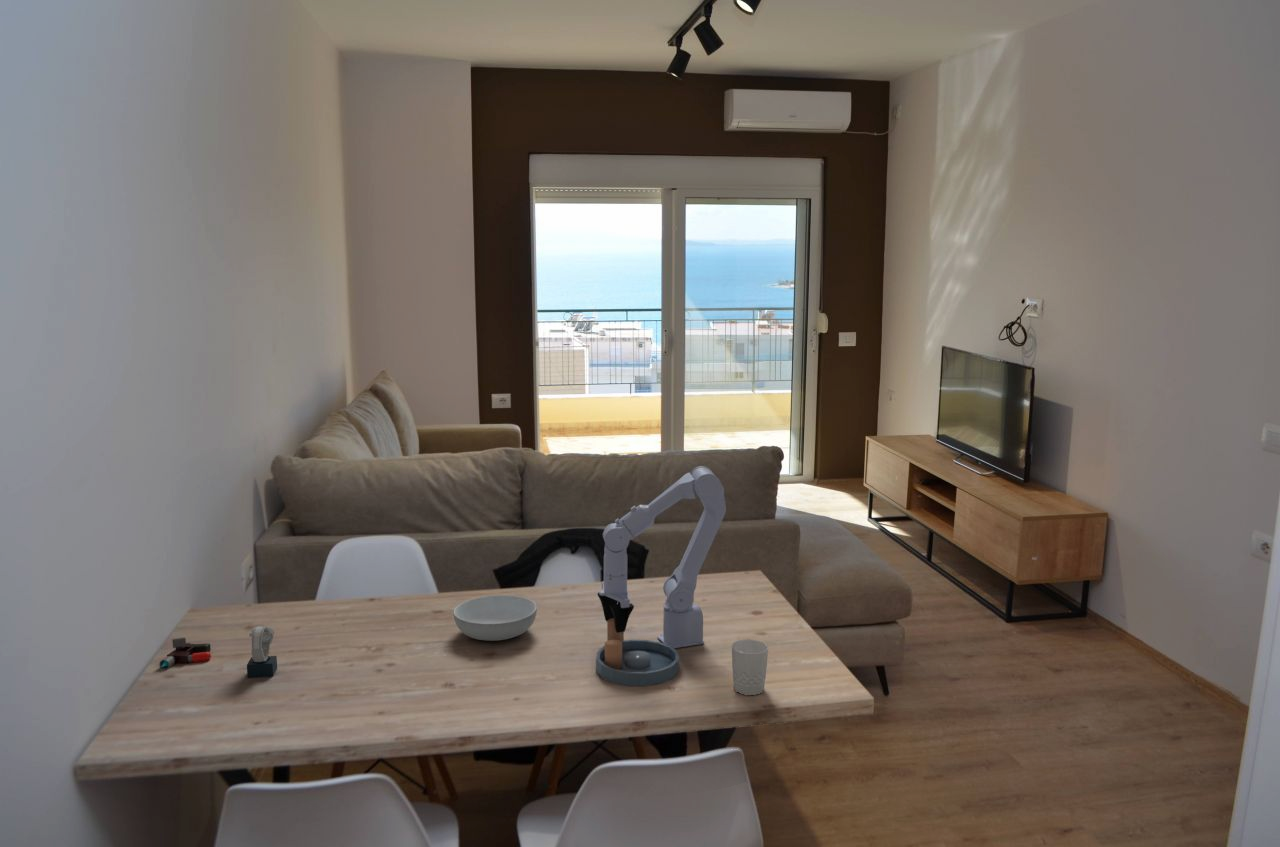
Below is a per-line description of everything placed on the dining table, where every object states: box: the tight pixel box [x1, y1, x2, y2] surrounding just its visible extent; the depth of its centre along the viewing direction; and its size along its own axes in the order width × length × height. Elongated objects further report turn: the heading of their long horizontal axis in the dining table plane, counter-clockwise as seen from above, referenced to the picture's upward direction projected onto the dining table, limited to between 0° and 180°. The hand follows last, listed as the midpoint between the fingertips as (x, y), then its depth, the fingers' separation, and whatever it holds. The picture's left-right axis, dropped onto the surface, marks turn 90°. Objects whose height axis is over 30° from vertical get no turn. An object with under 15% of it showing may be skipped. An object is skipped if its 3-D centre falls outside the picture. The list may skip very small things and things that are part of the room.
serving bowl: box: [452, 594, 538, 642], centre depth 241 cm, size 21×21×7 cm
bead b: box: [606, 618, 625, 641], centre depth 234 cm, size 4×4×6 cm
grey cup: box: [731, 639, 769, 696], centre depth 210 cm, size 8×8×10 cm
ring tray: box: [595, 639, 680, 687], centre depth 221 cm, size 19×19×3 cm
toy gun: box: [159, 637, 212, 670], centre depth 224 cm, size 10×12×5 cm
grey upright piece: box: [246, 624, 278, 679], centre depth 217 cm, size 6×8×11 cm
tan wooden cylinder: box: [604, 640, 622, 670], centre depth 218 cm, size 4×4×6 cm
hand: (615, 626), depth 234 cm, fingers open, 7 cm apart
